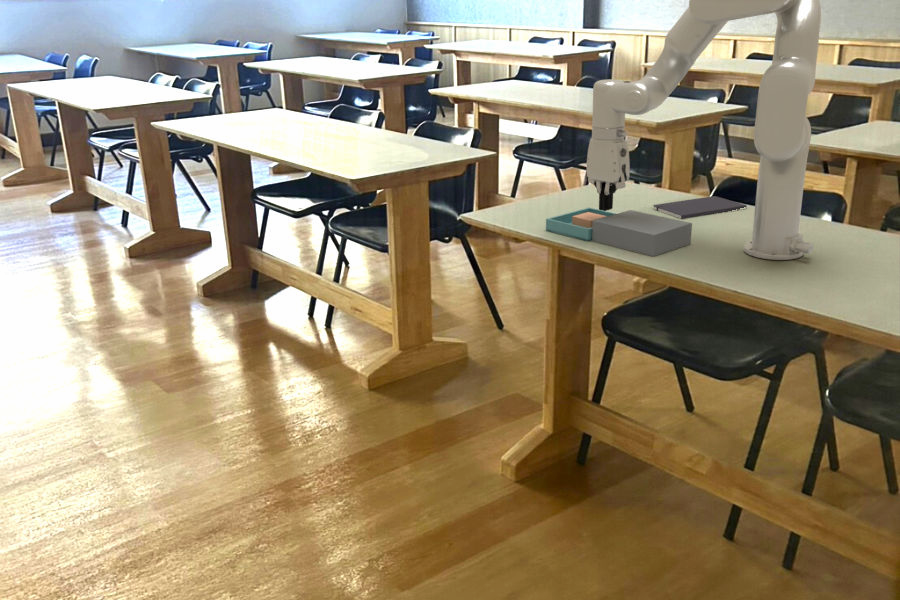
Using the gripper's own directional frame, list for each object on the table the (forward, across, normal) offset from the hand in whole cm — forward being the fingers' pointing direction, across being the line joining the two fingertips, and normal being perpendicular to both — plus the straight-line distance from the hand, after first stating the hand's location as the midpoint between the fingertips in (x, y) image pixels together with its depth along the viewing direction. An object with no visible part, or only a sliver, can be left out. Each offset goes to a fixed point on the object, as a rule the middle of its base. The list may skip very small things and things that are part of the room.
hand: (605, 209), depth 211 cm
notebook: (+7, -2, -36) cm, 37 cm away
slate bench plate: (+6, -11, 0) cm, 13 cm away
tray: (+6, +5, 0) cm, 8 cm away
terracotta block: (+3, +5, 0) cm, 6 cm away
